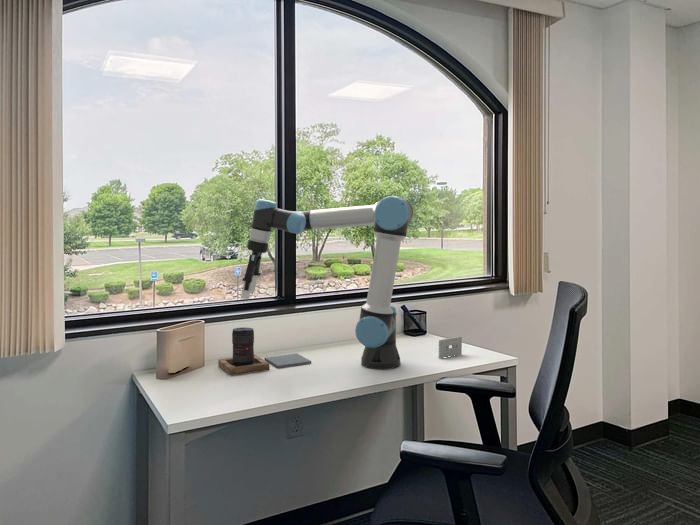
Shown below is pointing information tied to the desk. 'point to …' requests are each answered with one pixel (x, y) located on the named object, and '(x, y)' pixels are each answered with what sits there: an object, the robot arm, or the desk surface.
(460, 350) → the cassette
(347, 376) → the desk surface
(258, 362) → the brown flat square frame
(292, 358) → the mat
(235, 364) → the camera lens
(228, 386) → the desk surface
